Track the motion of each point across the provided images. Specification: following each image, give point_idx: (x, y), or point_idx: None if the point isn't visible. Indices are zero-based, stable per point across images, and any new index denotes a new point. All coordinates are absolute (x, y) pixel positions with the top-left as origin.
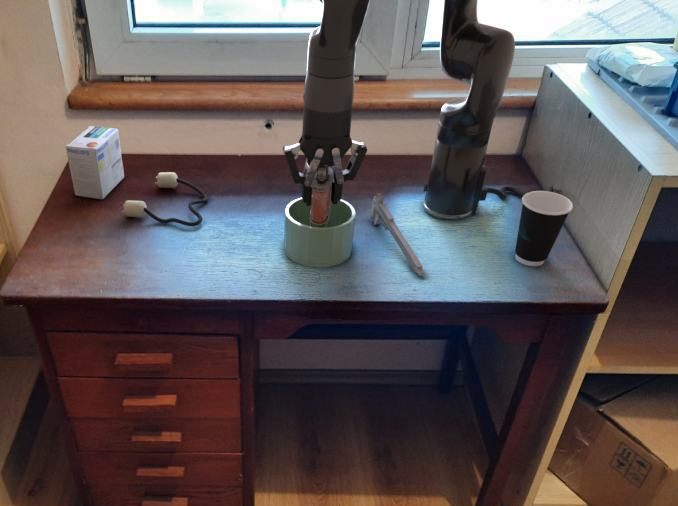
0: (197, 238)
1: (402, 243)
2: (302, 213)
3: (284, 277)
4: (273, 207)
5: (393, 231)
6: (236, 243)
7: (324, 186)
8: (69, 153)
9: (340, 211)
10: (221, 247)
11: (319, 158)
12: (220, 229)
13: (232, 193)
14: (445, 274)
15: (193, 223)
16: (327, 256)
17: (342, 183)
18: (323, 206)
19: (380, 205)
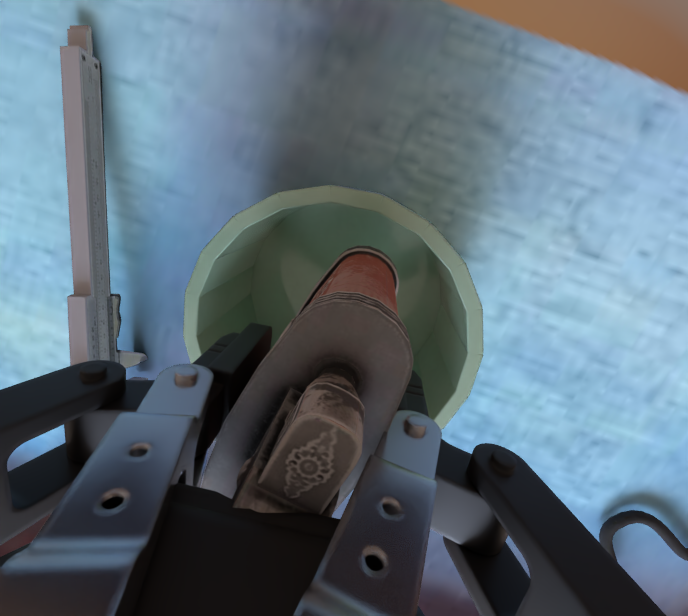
0: (651, 457)
1: (85, 176)
2: None
3: (511, 175)
4: None
5: (94, 249)
6: (558, 399)
7: (337, 315)
8: None
9: None
10: (611, 394)
11: (331, 603)
12: (565, 475)
13: (452, 604)
14: (9, 22)
15: (642, 517)
16: (356, 188)
17: (181, 364)
18: (350, 272)
19: None
